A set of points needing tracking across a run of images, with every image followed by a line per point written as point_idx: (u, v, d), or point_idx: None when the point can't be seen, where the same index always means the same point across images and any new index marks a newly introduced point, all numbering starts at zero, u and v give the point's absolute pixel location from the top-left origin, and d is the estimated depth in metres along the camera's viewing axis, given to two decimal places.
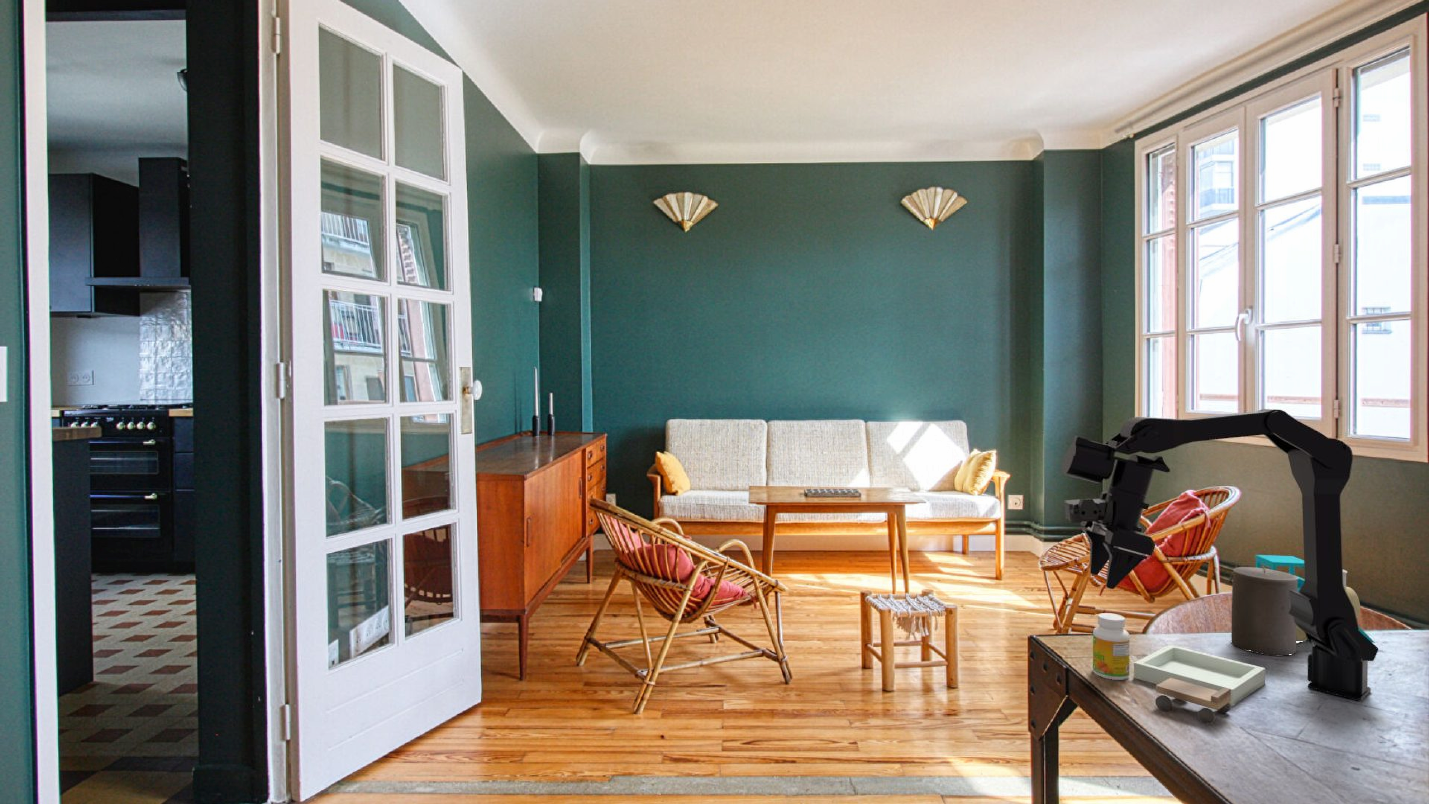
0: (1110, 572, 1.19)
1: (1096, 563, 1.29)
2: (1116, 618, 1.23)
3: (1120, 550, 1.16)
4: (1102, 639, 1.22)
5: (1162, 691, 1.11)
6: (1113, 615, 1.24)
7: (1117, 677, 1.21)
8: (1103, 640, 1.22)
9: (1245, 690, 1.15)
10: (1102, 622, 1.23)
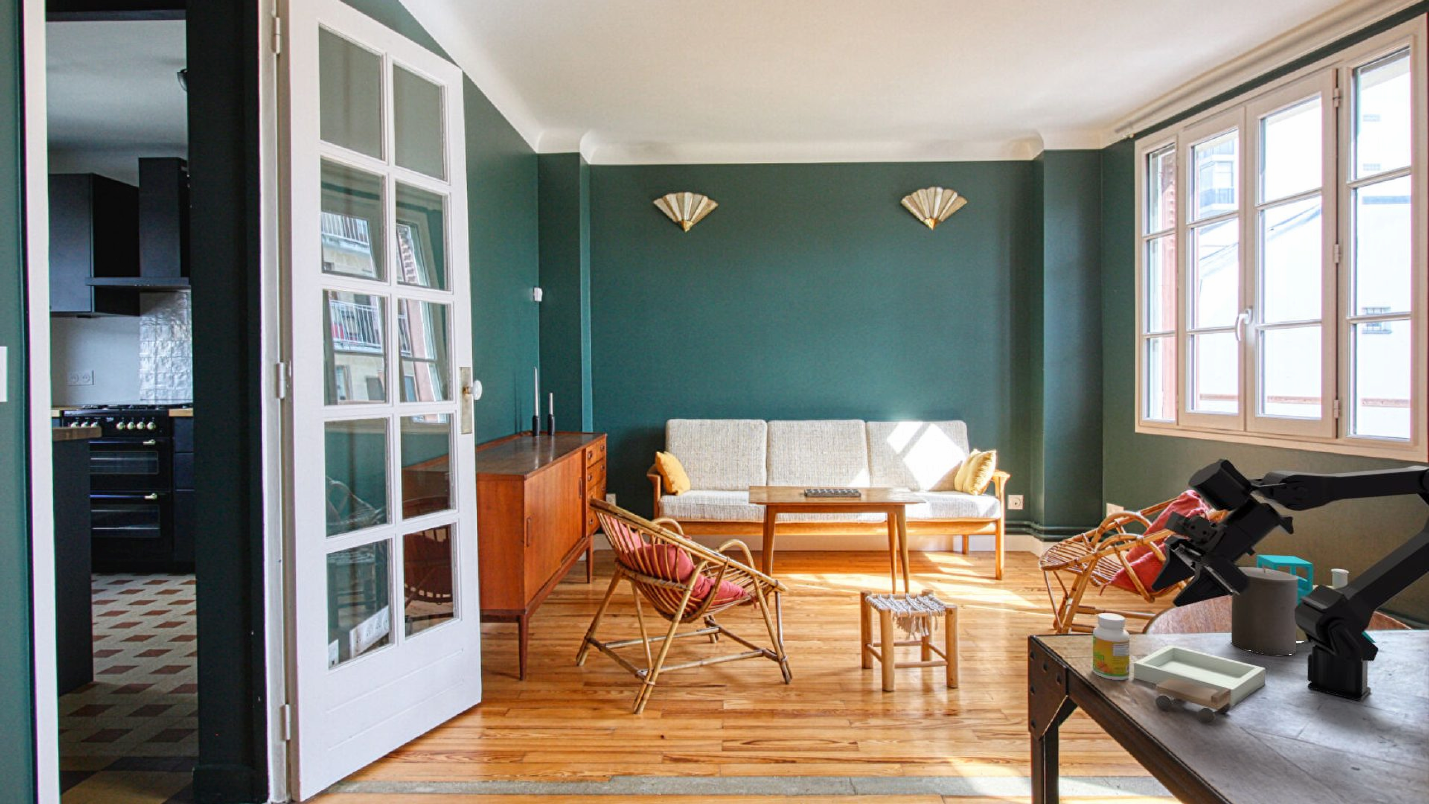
0: (1186, 591, 1.17)
1: (1162, 581, 1.26)
2: (1116, 618, 1.23)
3: (1212, 575, 1.14)
4: (1102, 639, 1.22)
5: (1162, 691, 1.11)
6: (1113, 615, 1.24)
7: (1117, 677, 1.21)
8: (1103, 640, 1.22)
9: (1245, 690, 1.15)
10: (1102, 622, 1.23)
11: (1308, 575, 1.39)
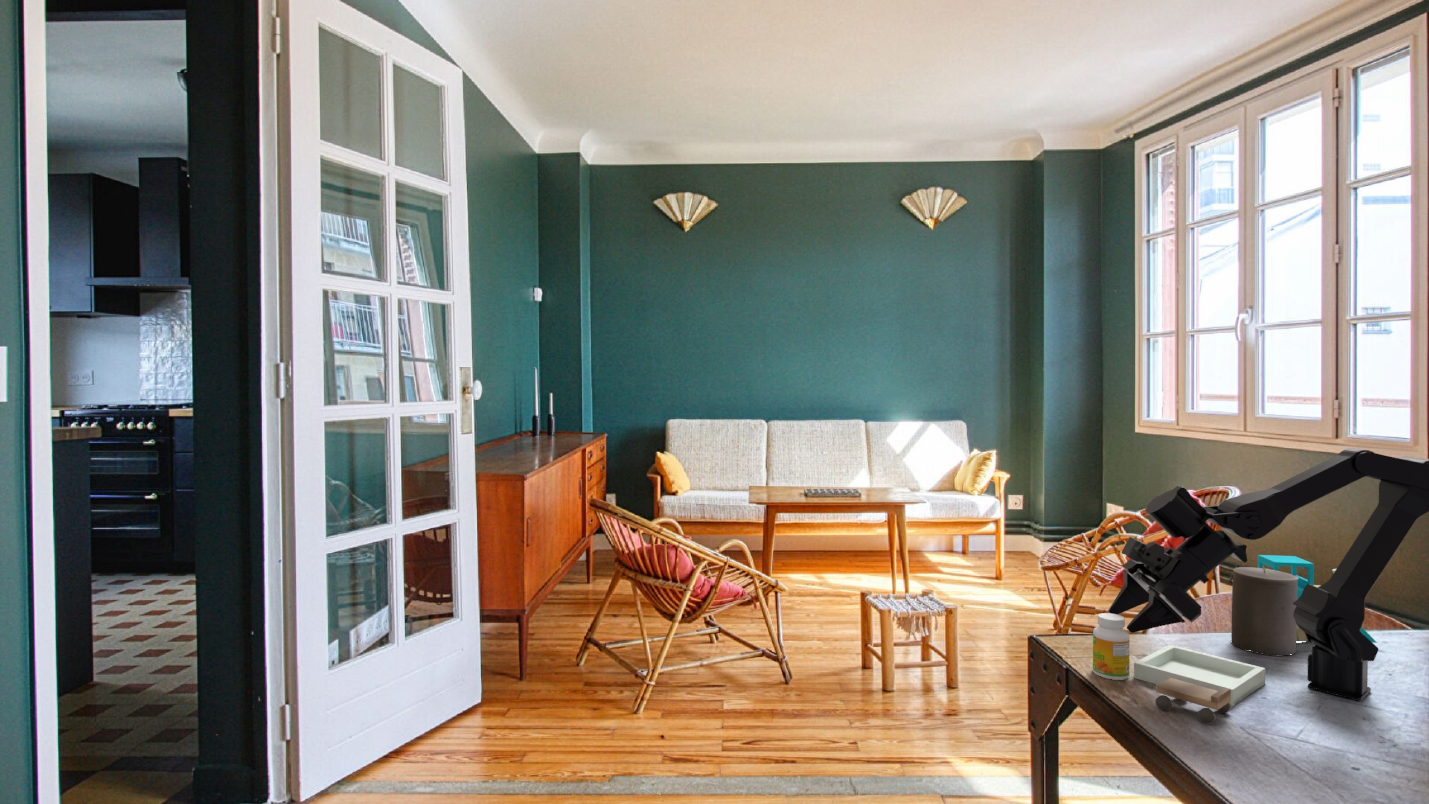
0: (1140, 617, 1.18)
1: (1119, 605, 1.28)
2: (1116, 618, 1.23)
3: (1165, 603, 1.15)
4: (1102, 639, 1.22)
5: (1162, 691, 1.11)
6: (1113, 615, 1.24)
7: (1117, 677, 1.21)
8: (1103, 640, 1.22)
9: (1245, 690, 1.15)
10: (1102, 622, 1.23)
11: (1309, 575, 1.39)
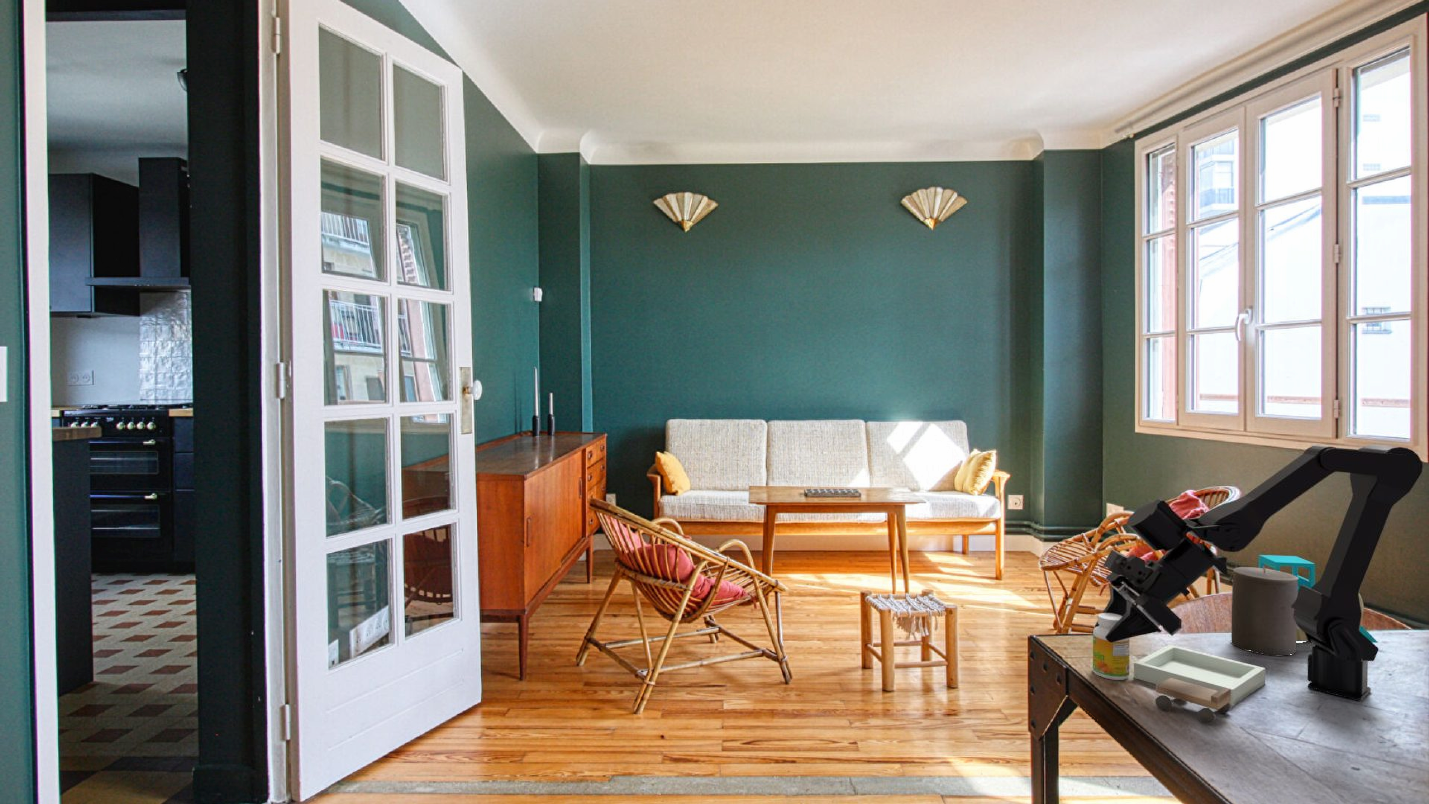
0: (1117, 627, 1.20)
1: None
2: (1115, 617, 1.23)
3: (1141, 613, 1.17)
4: (1102, 638, 1.22)
5: (1162, 691, 1.11)
6: (1113, 615, 1.24)
7: (1117, 677, 1.21)
8: (1103, 640, 1.22)
9: (1245, 690, 1.15)
10: (1102, 622, 1.23)
11: (1310, 575, 1.39)
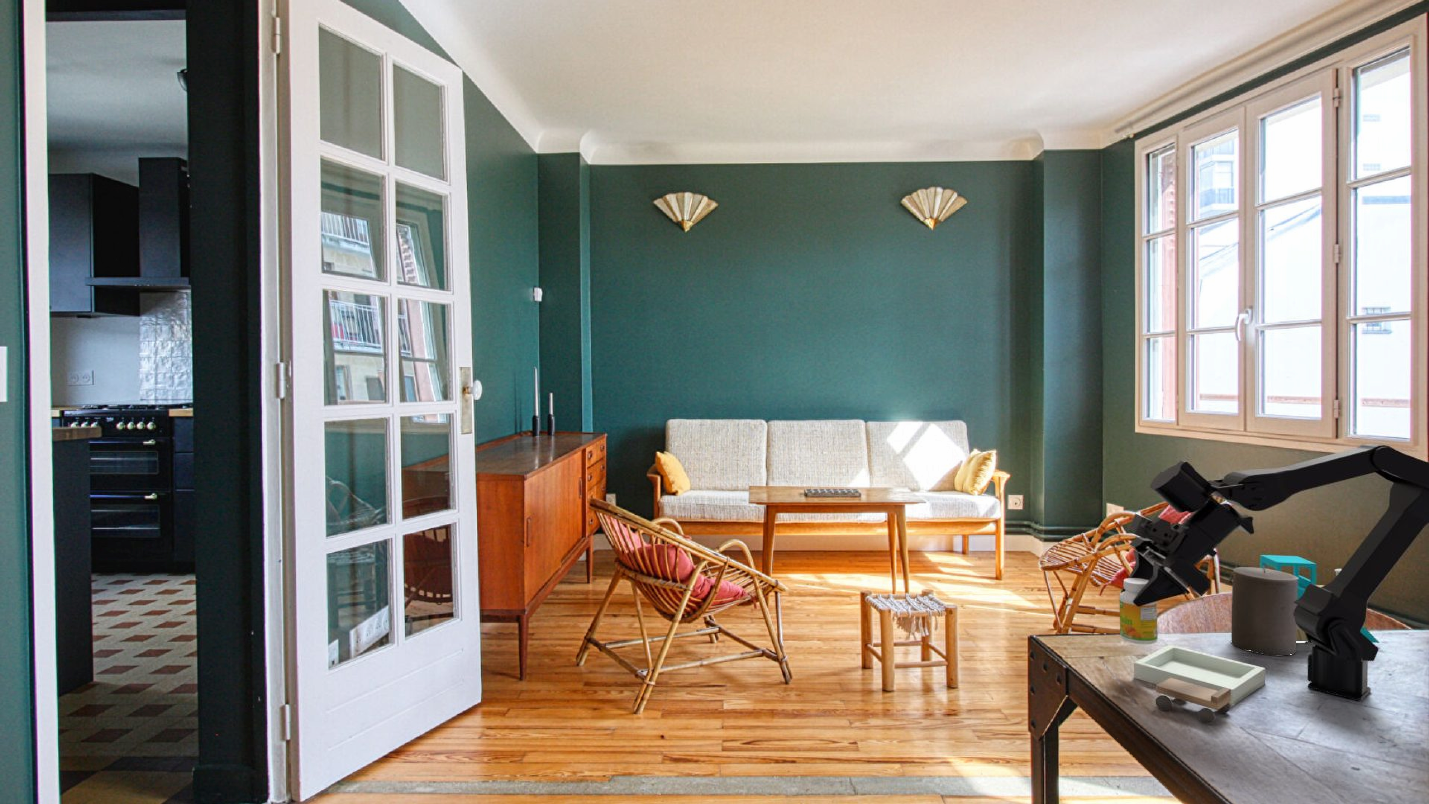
0: (1145, 590, 1.19)
1: None
2: (1142, 582, 1.22)
3: (1169, 575, 1.16)
4: (1129, 603, 1.22)
5: (1162, 691, 1.11)
6: (1139, 579, 1.24)
7: (1145, 641, 1.20)
8: (1130, 604, 1.21)
9: (1245, 690, 1.15)
10: (1128, 587, 1.22)
11: (1311, 575, 1.39)
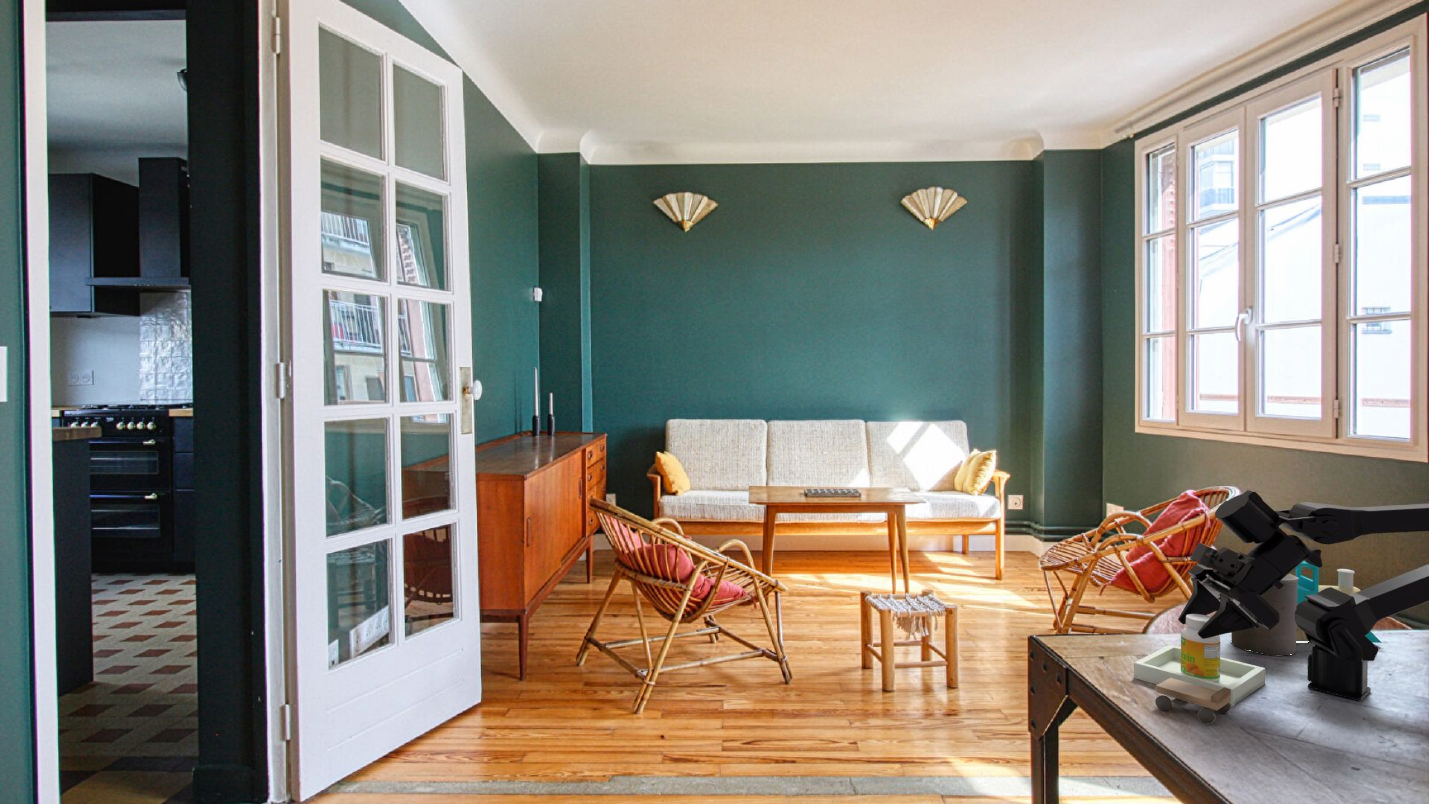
0: (1211, 623, 1.17)
1: None
2: (1205, 618, 1.20)
3: (1238, 608, 1.14)
4: (1192, 640, 1.20)
5: (1162, 691, 1.11)
6: (1202, 616, 1.22)
7: (1208, 679, 1.19)
8: (1194, 642, 1.20)
9: (1245, 690, 1.15)
10: (1191, 623, 1.20)
11: (1314, 575, 1.39)
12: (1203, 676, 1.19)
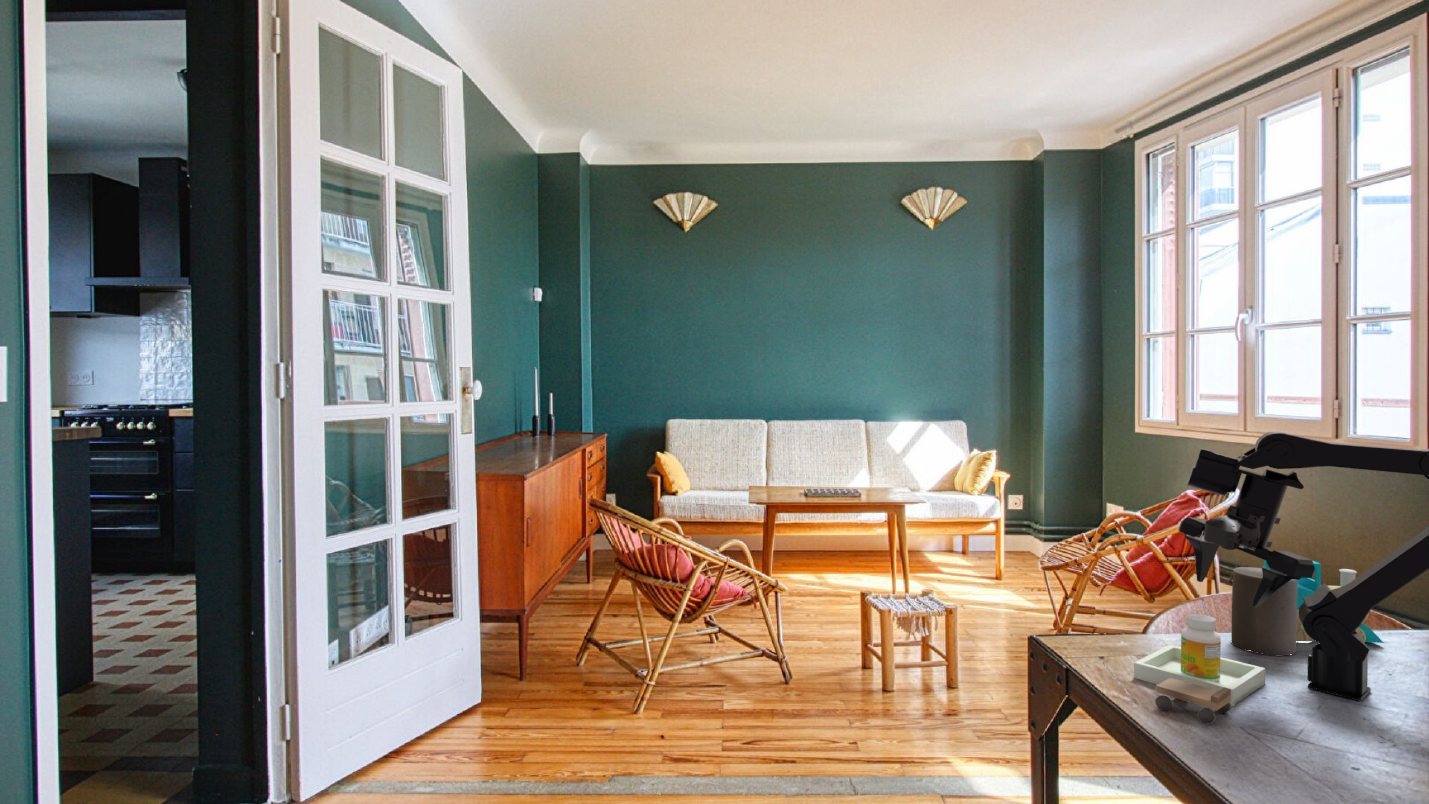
0: (1263, 594, 1.19)
1: (1203, 571, 1.29)
2: (1206, 619, 1.20)
3: (1287, 577, 1.16)
4: (1193, 640, 1.20)
5: (1162, 691, 1.11)
6: (1202, 616, 1.22)
7: (1208, 680, 1.19)
8: (1194, 642, 1.19)
9: (1245, 690, 1.15)
10: (1192, 623, 1.20)
11: (1316, 575, 1.39)
12: (1203, 676, 1.19)
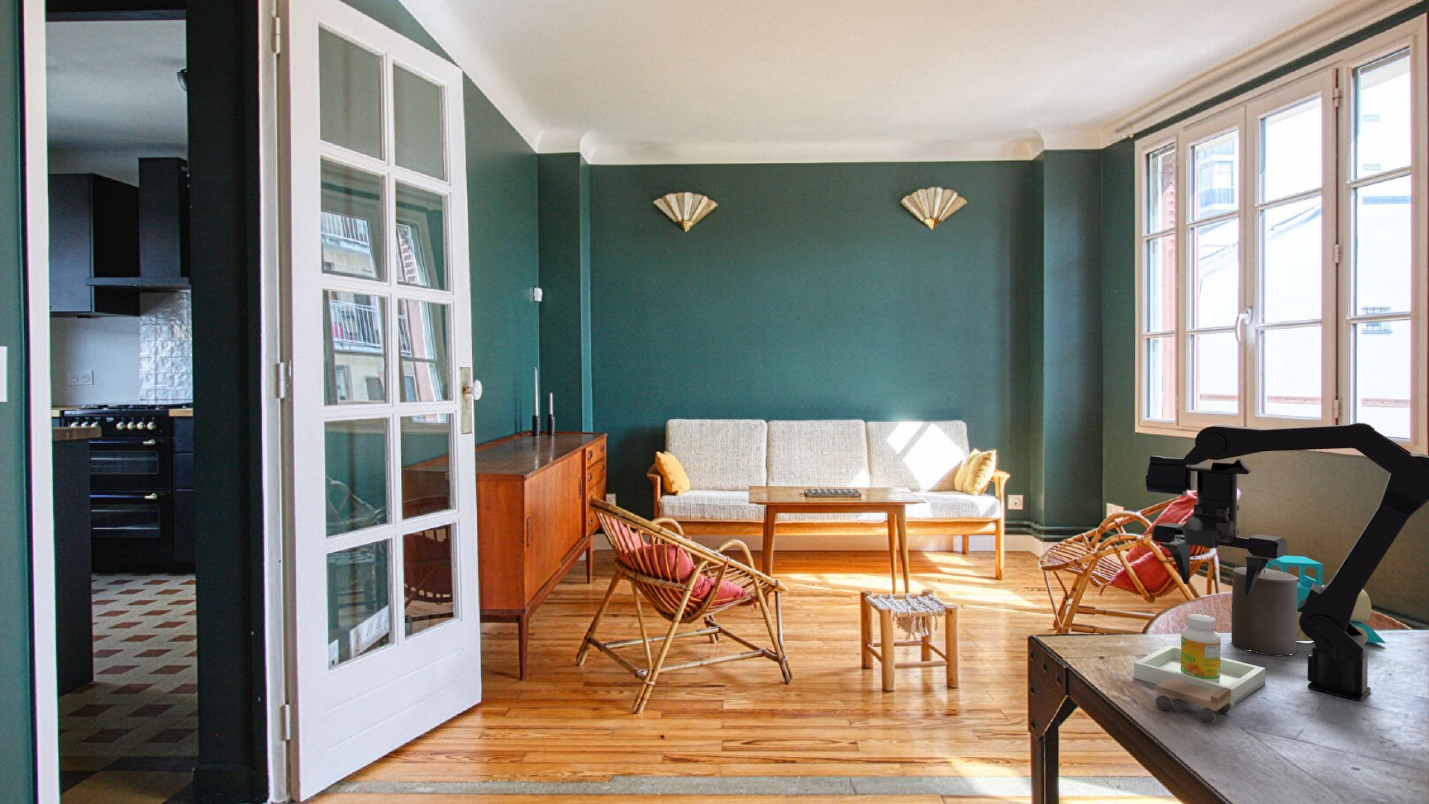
0: (1252, 581, 1.23)
1: (1186, 573, 1.31)
2: (1206, 619, 1.20)
3: (1270, 559, 1.21)
4: (1193, 640, 1.20)
5: (1162, 691, 1.11)
6: (1202, 616, 1.22)
7: (1209, 680, 1.19)
8: (1194, 642, 1.19)
9: (1245, 690, 1.15)
10: (1192, 623, 1.20)
11: (1317, 575, 1.39)
12: (1203, 676, 1.19)
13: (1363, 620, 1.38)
